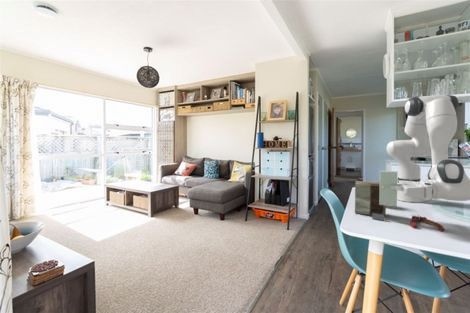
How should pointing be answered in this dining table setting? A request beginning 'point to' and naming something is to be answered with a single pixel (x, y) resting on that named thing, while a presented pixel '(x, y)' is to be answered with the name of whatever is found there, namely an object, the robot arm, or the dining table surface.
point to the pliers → (425, 220)
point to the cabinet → (367, 198)
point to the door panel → (388, 188)
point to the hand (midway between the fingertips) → (389, 186)
